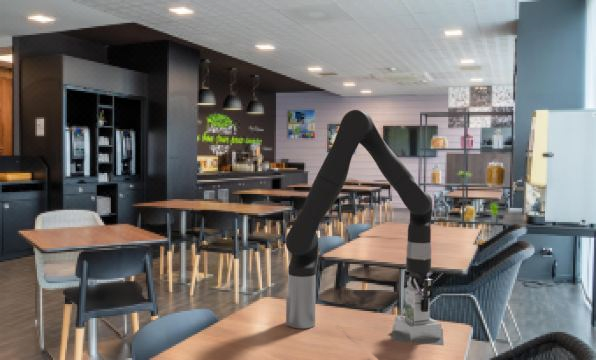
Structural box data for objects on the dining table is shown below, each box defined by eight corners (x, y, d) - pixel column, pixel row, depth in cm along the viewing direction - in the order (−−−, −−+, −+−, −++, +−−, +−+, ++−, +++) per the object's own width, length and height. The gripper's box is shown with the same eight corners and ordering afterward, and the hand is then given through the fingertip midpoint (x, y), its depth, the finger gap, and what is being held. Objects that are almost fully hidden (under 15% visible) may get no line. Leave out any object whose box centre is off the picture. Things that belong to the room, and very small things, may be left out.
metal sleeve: (410, 341, 158) (410, 326, 158) (394, 330, 168) (394, 316, 168) (440, 338, 161) (441, 323, 161) (423, 327, 171) (424, 314, 171)
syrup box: (430, 336, 163) (431, 289, 162) (413, 338, 161) (414, 291, 160) (420, 330, 168) (421, 285, 168) (403, 332, 166) (404, 286, 166)
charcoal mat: (390, 344, 159) (390, 340, 159) (393, 328, 174) (393, 324, 174) (443, 349, 155) (443, 345, 155) (442, 332, 170) (442, 328, 170)
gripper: (397, 252, 169) (396, 302, 170) (419, 260, 156) (417, 315, 156) (418, 251, 171) (417, 300, 172) (441, 259, 158) (440, 313, 158)
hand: (417, 307), depth 164 cm, fingers open, 8 cm apart
